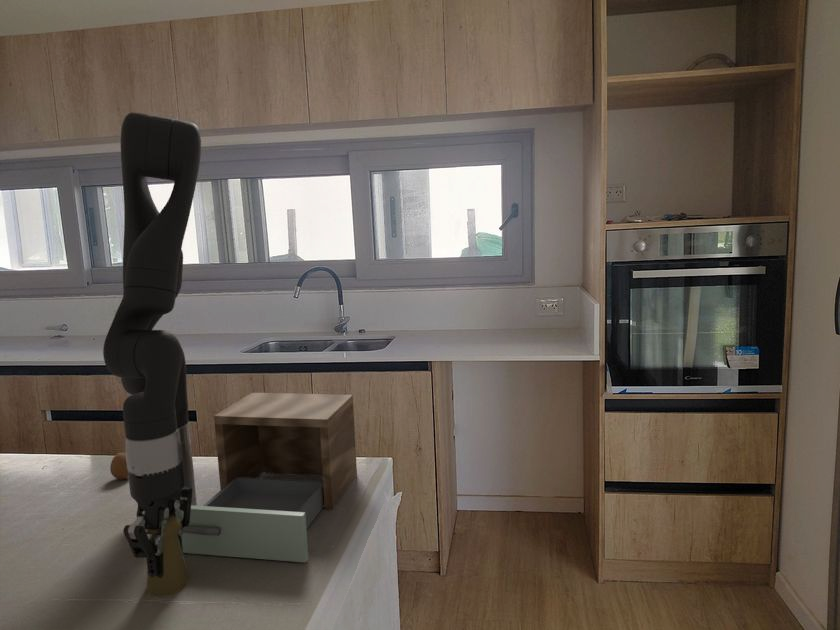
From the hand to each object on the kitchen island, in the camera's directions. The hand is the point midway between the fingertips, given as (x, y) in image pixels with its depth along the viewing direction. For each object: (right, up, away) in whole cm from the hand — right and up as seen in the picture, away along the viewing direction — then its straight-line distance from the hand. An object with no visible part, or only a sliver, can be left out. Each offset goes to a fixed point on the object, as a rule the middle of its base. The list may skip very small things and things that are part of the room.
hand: (166, 567), depth 90 cm
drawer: (+11, 0, +16) cm, 19 cm away
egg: (-27, +2, +40) cm, 48 cm away
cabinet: (+12, +3, +32) cm, 35 cm away
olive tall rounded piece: (0, -3, 0) cm, 3 cm away
